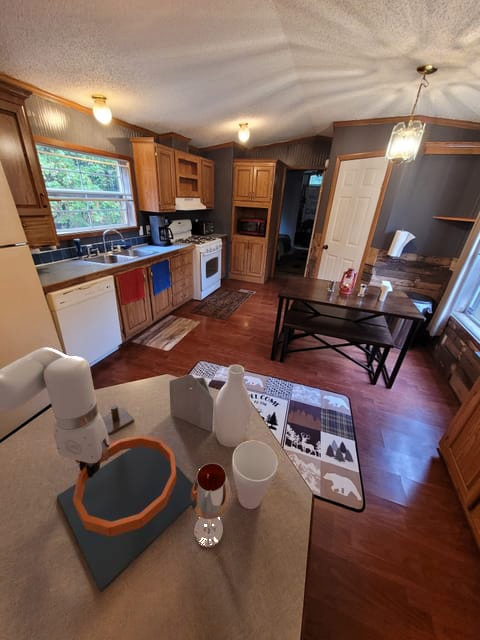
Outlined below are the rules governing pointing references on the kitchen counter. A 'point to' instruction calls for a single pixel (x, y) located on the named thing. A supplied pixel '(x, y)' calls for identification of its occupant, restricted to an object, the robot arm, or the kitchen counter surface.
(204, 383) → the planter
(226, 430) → the bottle
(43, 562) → the kitchen counter surface
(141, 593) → the kitchen counter surface
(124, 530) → the hoop
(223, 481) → the wineglass
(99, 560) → the mat
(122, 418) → the peg
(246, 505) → the cup
